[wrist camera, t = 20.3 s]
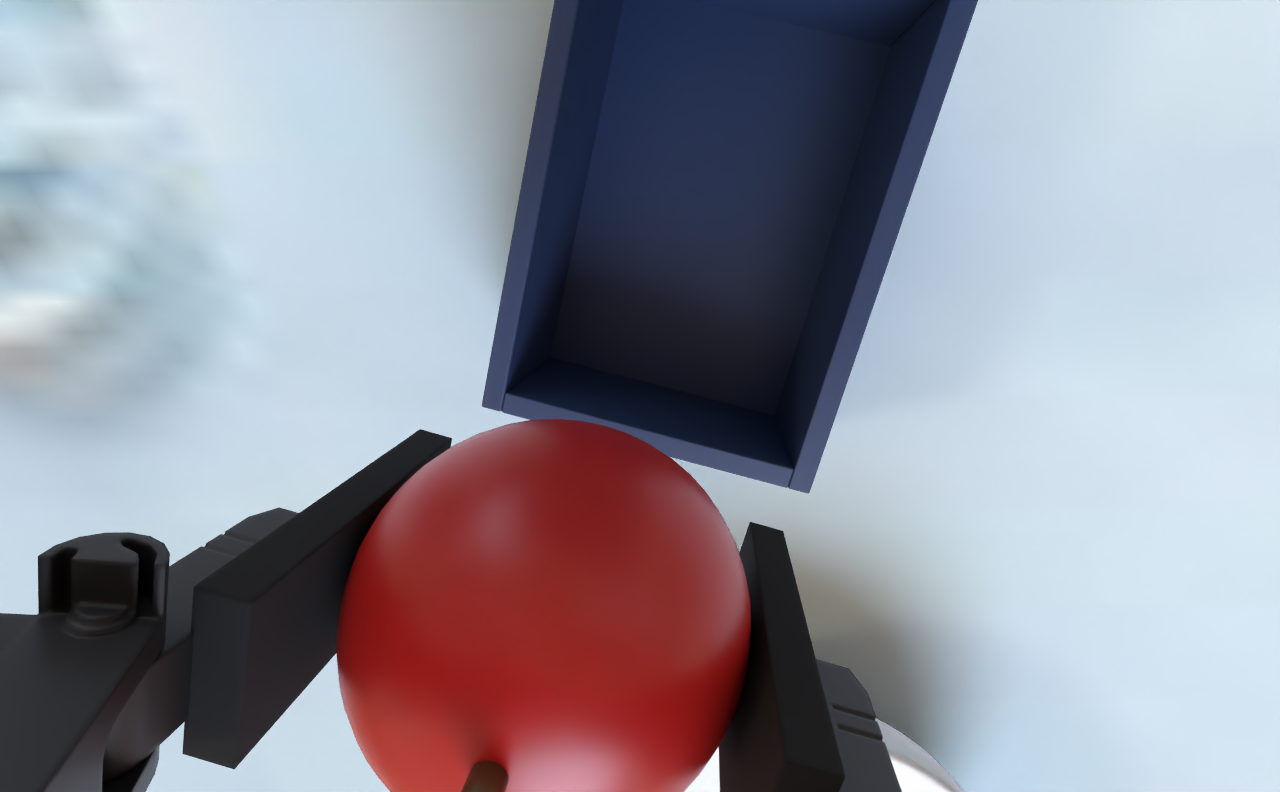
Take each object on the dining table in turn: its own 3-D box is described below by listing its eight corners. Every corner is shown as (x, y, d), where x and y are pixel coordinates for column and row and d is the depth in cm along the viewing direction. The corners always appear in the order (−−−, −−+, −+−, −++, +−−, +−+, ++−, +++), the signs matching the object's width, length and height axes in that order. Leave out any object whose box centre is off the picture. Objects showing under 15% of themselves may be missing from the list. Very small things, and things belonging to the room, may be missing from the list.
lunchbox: (784, 430, 31) (809, 494, 23) (535, 365, 31) (480, 407, 24) (910, 36, 26) (993, -44, 18) (615, -33, 26) (578, -139, 19)
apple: (421, 610, 16) (152, 972, 8) (470, 343, 14) (178, 484, 6) (692, 688, 15) (681, 1137, 8) (780, 427, 14) (878, 682, 6)
